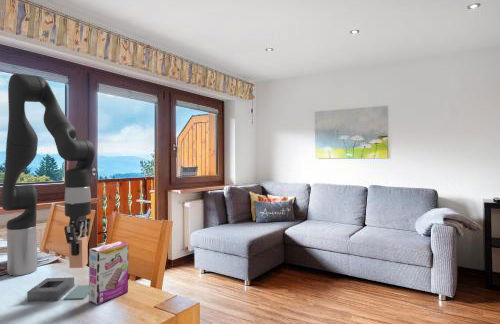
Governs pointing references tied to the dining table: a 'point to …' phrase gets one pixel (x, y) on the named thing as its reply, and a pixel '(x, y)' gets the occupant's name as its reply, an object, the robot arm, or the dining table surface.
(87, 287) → the mat
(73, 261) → the plug
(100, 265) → the candy bar box
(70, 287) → the grey socket frame
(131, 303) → the dining table surface
